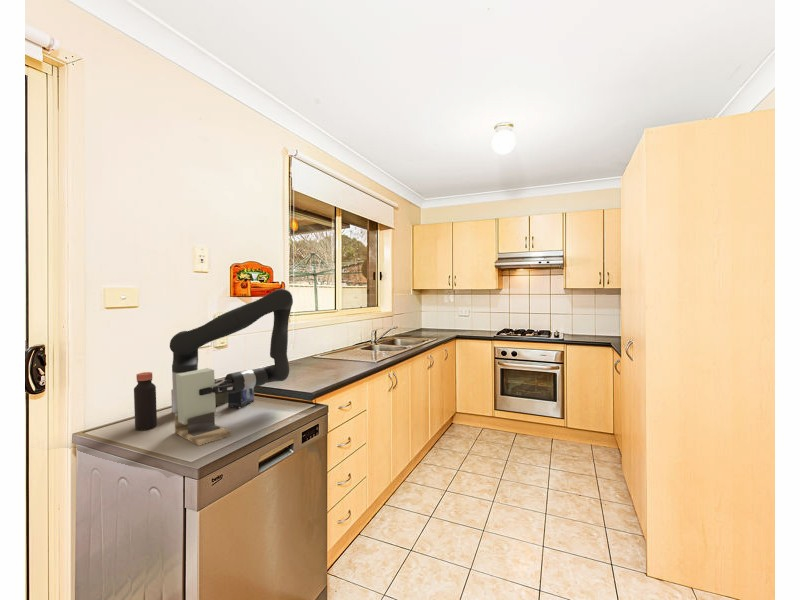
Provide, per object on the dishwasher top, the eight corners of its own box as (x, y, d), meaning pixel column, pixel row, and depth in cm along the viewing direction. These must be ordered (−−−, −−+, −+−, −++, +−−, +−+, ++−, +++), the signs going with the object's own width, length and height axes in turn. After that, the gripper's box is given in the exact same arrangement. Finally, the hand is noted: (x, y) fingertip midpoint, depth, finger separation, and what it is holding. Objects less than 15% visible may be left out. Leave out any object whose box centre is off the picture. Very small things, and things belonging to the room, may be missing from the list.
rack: (175, 432, 140) (174, 414, 140) (206, 424, 149) (206, 407, 148) (198, 445, 129) (198, 426, 129) (230, 435, 137) (230, 417, 137)
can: (227, 405, 172) (226, 389, 171) (197, 406, 170) (197, 391, 169) (234, 397, 183) (234, 382, 183) (206, 398, 182) (206, 384, 181)
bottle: (161, 425, 148) (159, 372, 147) (144, 431, 141) (142, 376, 141) (147, 423, 150) (145, 371, 149) (130, 429, 143) (128, 375, 143)
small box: (241, 408, 167) (240, 383, 167) (227, 407, 169) (226, 383, 168) (255, 401, 178) (254, 377, 177) (242, 400, 179) (241, 377, 179)
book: (178, 421, 139) (175, 374, 138) (209, 413, 147) (207, 368, 146) (184, 424, 136) (182, 376, 135) (216, 415, 144) (214, 369, 143)
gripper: (230, 369, 158) (186, 378, 145) (250, 374, 149) (204, 384, 136) (231, 387, 159) (187, 398, 146) (251, 393, 150) (205, 405, 137)
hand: (196, 391), depth 141 cm, fingers closed on book, 5 cm apart
